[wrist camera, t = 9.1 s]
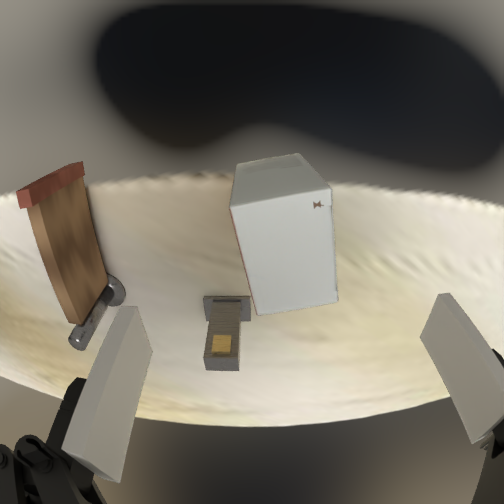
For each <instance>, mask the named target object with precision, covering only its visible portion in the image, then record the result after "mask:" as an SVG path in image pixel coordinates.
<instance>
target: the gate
mask: <svg viewBox="0 0 504 504" xmlns="http://www.w3.org/2000/svg"><path fill="white" fill-rule="evenodd" d="M84 175H85V173H84V167H83V162H77V163H72V164H69V165H67V166H64V167H62V168H60V169H58V170H56V171H54V172H52V173H50V174H48V175H46V176H44V177H42V178H40V179H38V180H36V181H35V182H33V183H31V184H29V185H27V186H25V187H23V188H22V189H20V190H18V191H16V194H17V199H18V203H19V207H20V209H22V208H27V211H28V215H29V219H30V222H31V226H32V229H33V233H34V236H35V239H36V242H37V245H38V248H39V251H40V254H41V257H42V260H43V263H44V266H45V268H46V271H47V274H48V276H49V279H50V281H51V284H52V286H53V289H54V291H55V293H56V296H57V298H58V300H59V303H60V305H61V307H62V309H63V311H64V314H65V316H66V318H67V320H68V322H69V323H72V324H80V325H82V323H83V321H84V320H85V318H86V316H87V315H88V313H89V311H90V310H91V308H92V306H93V305H94V303H95V302H96V300H97V298H98V297H99V295H100V294H101V292H102V291H103V289H104V288H105V286H106V284H107V283H108V278H107V275H106V272H105V269H104V265H103V262H102V258H101V255H100V251H99V248H98V244H97V240H96V236H95V232H94V228H93V224H92V220H91V215H90V211H89V206H88V201H87V196H86V191H85V186H84V180H83V176H84Z"/></svg>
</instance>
